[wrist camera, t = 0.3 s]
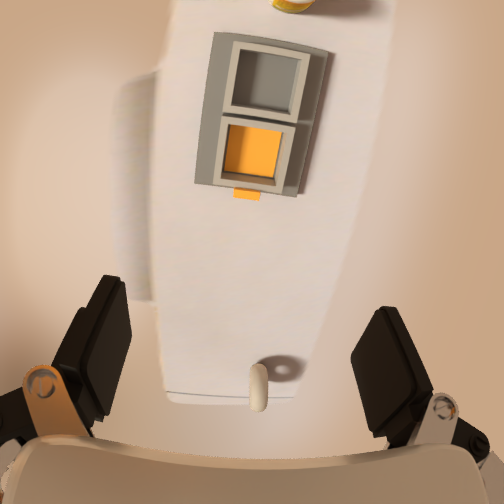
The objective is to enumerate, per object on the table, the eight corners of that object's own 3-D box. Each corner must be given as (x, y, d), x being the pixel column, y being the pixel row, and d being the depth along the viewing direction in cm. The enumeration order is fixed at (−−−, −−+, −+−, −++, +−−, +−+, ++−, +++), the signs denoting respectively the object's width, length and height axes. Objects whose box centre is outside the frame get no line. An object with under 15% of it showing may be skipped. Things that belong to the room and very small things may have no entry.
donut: (249, 353, 57) (250, 397, 49) (267, 353, 58) (270, 396, 49) (248, 380, 63) (249, 420, 54) (264, 380, 63) (266, 420, 55)
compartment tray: (215, 33, 28) (211, 28, 25) (326, 52, 30) (336, 50, 26) (195, 180, 39) (190, 193, 35) (295, 194, 40) (300, 208, 36)
